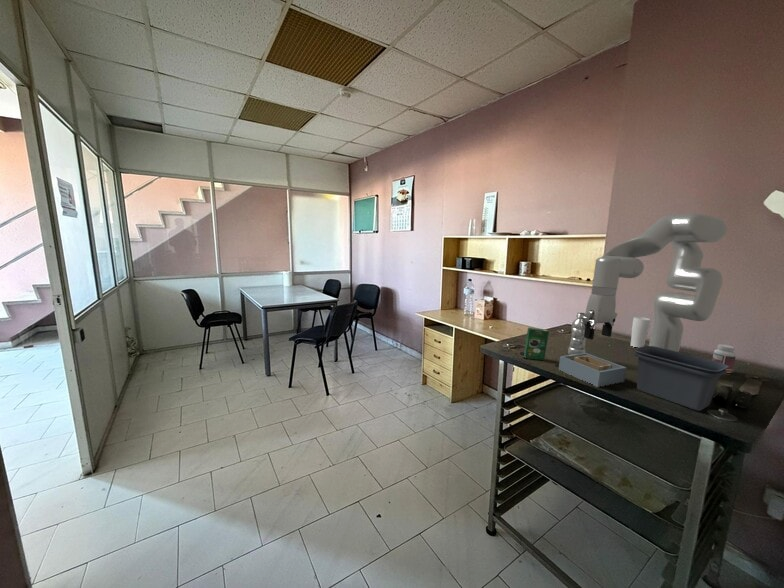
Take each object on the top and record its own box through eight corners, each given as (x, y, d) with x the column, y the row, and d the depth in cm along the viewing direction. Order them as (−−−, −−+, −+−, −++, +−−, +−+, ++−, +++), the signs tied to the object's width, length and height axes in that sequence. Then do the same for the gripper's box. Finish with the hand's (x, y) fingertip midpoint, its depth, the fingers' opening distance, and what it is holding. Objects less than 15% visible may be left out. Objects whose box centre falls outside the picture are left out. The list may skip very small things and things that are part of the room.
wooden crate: (584, 367, 124) (586, 355, 123) (610, 377, 115) (612, 364, 114) (572, 369, 122) (574, 357, 121) (597, 380, 112) (599, 367, 112)
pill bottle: (730, 371, 130) (736, 346, 128) (732, 376, 125) (739, 349, 123) (709, 367, 134) (714, 342, 132) (710, 371, 129) (716, 345, 127)
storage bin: (623, 387, 109) (630, 348, 107) (644, 379, 117) (651, 343, 115) (706, 418, 91) (717, 372, 89) (724, 407, 99) (734, 364, 97)
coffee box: (543, 358, 135) (547, 328, 132) (545, 360, 132) (549, 330, 130) (523, 356, 136) (527, 327, 134) (524, 358, 133) (528, 328, 131)
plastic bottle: (587, 361, 134) (595, 315, 130) (571, 360, 134) (578, 314, 130) (579, 355, 140) (586, 312, 137) (563, 355, 140) (570, 311, 137)
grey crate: (583, 365, 128) (585, 352, 127) (624, 381, 114) (626, 367, 113) (558, 369, 123) (560, 356, 122) (597, 387, 109) (600, 372, 108)
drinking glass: (646, 350, 152) (652, 320, 150) (628, 347, 156) (634, 318, 153) (644, 347, 158) (650, 318, 155) (627, 344, 162) (633, 315, 159)
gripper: (609, 289, 120) (602, 332, 123) (577, 290, 113) (571, 336, 116) (630, 292, 113) (622, 337, 116) (598, 294, 106) (591, 342, 109)
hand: (597, 337), depth 116 cm, fingers open, 9 cm apart
